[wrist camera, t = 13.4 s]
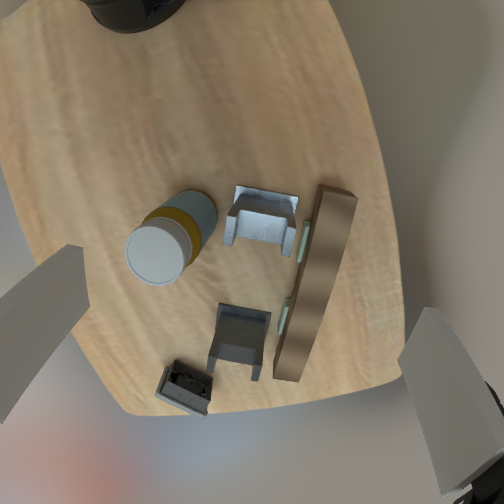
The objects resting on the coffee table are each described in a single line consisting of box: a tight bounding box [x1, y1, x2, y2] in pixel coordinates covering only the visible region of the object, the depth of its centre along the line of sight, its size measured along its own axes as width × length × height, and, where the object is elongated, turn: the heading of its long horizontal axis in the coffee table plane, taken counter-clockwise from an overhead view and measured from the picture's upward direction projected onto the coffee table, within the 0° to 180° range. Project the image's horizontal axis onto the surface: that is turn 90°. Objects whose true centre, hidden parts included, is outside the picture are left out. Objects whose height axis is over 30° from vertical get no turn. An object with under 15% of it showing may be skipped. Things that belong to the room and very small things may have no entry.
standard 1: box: [206, 303, 271, 382], centre depth 43 cm, size 5×8×11 cm, turn 80°
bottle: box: [124, 190, 217, 286], centre depth 35 cm, size 7×7×15 cm
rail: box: [273, 184, 358, 382], centre depth 40 cm, size 28×4×4 cm, turn 170°
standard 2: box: [223, 185, 298, 257], centre depth 36 cm, size 5×8×11 cm, turn 80°
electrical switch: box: [155, 360, 213, 419], centre depth 49 cm, size 9×5×9 cm, turn 60°
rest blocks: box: [278, 220, 311, 335], centre depth 43 cm, size 17×5×2 cm, turn 170°
